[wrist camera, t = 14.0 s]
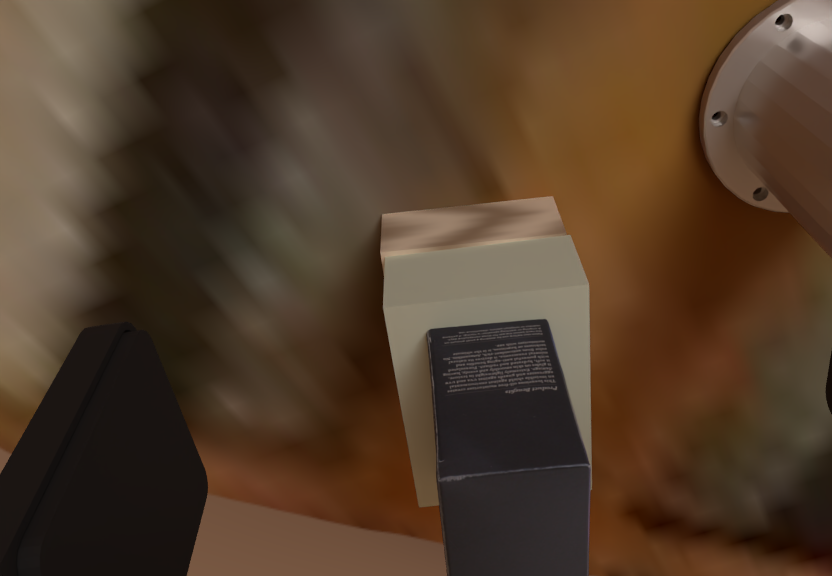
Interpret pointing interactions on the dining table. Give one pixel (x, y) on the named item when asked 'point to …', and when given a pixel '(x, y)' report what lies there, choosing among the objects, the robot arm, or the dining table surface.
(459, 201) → the dining table surface
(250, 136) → the dining table surface
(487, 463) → the small box
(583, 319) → the tower top
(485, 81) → the dining table surface
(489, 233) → the tower base
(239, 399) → the dining table surface
